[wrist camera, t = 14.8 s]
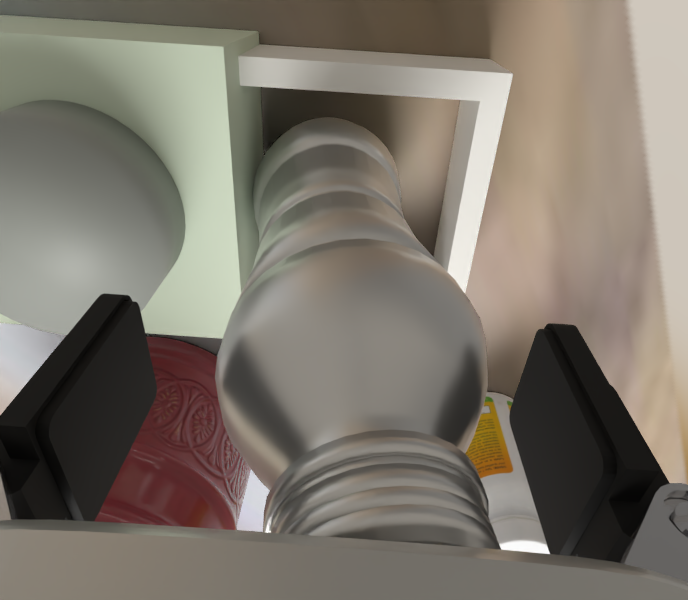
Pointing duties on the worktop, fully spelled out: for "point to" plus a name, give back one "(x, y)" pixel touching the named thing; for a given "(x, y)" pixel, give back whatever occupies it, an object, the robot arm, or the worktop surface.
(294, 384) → the silver bottle
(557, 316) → the worktop surface
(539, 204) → the worktop surface
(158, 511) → the canister
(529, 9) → the worktop surface
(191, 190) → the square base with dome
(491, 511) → the supplement bottle
